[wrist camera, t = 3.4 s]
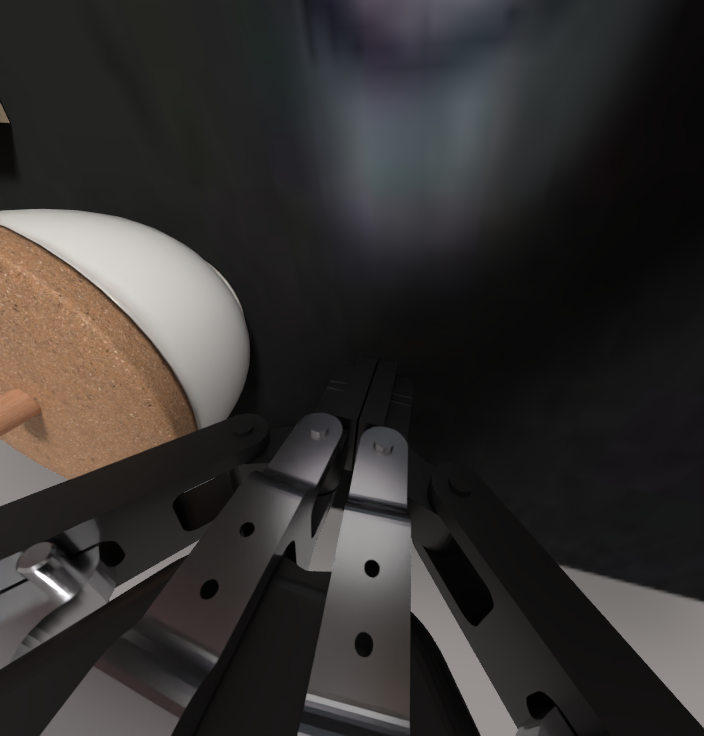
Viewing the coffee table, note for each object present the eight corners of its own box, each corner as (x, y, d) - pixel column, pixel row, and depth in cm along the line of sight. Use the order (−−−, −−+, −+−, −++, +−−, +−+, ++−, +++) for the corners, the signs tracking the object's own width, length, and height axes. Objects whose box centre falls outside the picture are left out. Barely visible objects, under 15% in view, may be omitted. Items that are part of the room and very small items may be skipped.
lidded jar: (176, 394, 20) (18, 527, 13) (62, 229, 15) (-311, 287, 8) (314, 382, 17) (205, 560, 9) (224, 156, 11) (-203, 130, 4)
